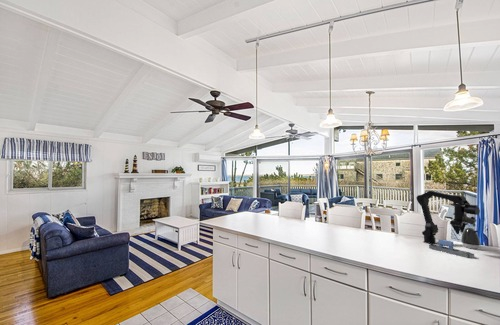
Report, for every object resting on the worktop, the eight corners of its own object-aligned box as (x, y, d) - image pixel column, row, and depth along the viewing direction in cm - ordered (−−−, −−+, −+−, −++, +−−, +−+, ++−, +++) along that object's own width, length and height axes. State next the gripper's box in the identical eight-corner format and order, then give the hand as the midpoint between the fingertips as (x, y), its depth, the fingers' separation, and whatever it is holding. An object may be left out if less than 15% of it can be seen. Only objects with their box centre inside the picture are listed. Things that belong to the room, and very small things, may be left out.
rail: (428, 248, 166) (428, 245, 166) (431, 247, 169) (431, 243, 169) (471, 258, 145) (471, 255, 146) (474, 257, 148) (474, 253, 149)
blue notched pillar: (438, 247, 168) (438, 239, 169) (440, 246, 170) (439, 239, 170) (452, 250, 161) (451, 242, 162) (453, 249, 163) (453, 241, 163)
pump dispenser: (475, 250, 161) (473, 230, 162) (458, 246, 171) (457, 226, 172) (484, 249, 164) (483, 229, 165) (467, 245, 174) (466, 225, 175)
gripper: (470, 215, 151) (470, 238, 150) (478, 213, 160) (479, 234, 160) (449, 212, 160) (449, 234, 160) (458, 210, 170) (458, 230, 169)
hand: (459, 233), depth 162 cm, fingers open, 9 cm apart
